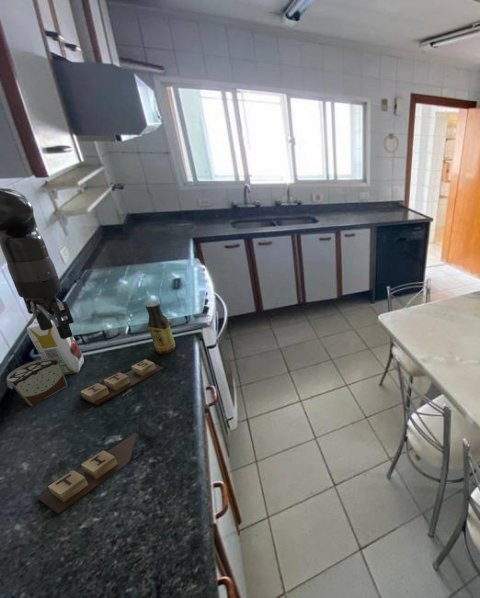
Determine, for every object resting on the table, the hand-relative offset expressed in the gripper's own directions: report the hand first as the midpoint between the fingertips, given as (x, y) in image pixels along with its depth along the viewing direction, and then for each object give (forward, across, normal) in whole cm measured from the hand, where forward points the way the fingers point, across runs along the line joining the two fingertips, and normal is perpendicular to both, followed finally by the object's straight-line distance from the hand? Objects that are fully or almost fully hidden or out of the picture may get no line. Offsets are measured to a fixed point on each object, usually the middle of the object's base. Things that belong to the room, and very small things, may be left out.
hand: (57, 333), depth 86 cm
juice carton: (+25, -23, +8) cm, 35 cm away
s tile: (+24, -1, +18) cm, 30 cm away
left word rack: (+25, +27, -11) cm, 38 cm away
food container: (+25, -16, -2) cm, 30 cm away
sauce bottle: (+25, -7, +30) cm, 39 cm away
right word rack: (+25, -1, +12) cm, 27 cm away
